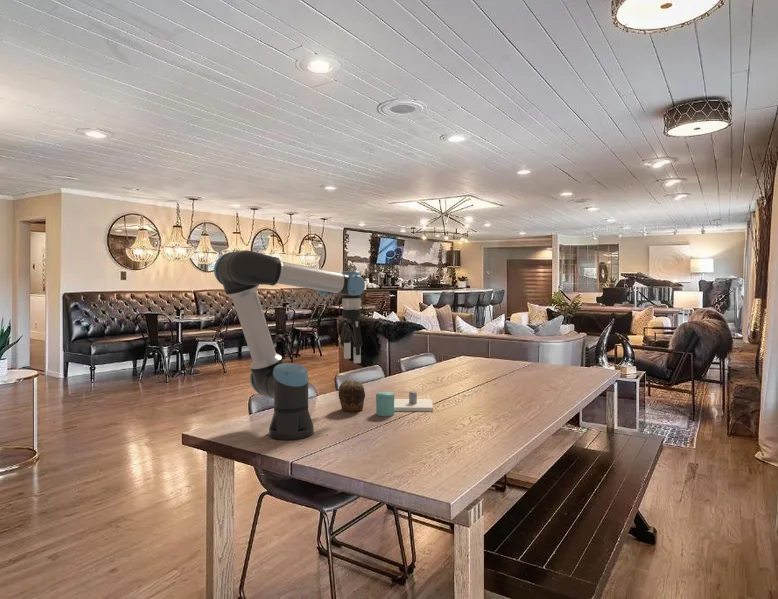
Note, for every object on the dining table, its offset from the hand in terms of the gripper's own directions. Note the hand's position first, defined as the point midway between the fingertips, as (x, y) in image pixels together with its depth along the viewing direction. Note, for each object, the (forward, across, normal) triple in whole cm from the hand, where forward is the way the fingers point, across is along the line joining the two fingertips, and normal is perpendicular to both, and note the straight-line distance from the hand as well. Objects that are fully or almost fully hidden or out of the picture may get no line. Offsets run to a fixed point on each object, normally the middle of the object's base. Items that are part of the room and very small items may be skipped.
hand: (352, 360), depth 206 cm
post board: (+20, -6, -25) cm, 32 cm away
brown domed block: (+20, -1, +1) cm, 20 cm away
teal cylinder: (+20, -12, -10) cm, 25 cm away
